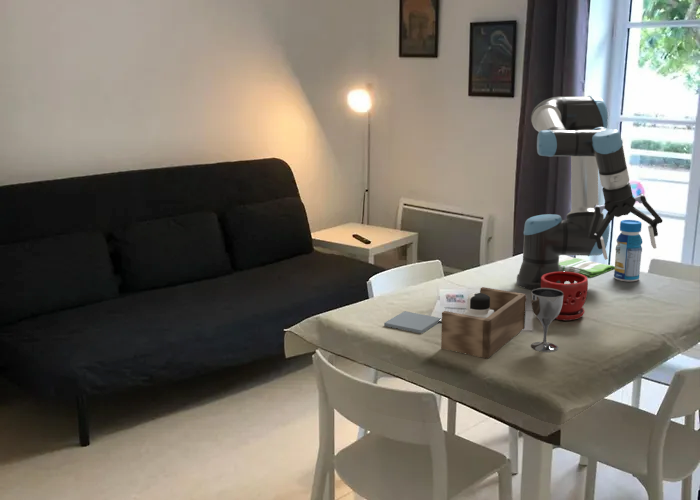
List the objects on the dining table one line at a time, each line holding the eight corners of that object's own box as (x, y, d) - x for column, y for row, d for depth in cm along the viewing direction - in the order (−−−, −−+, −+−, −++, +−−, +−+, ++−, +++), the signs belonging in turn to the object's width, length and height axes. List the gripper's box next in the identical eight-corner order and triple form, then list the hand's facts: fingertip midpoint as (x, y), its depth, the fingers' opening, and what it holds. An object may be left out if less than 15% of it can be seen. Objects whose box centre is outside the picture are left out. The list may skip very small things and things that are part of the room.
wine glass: (524, 342, 198) (527, 288, 194) (553, 340, 198) (557, 287, 195) (534, 353, 190) (537, 297, 186) (564, 351, 191) (568, 296, 187)
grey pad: (384, 326, 211) (384, 322, 211) (404, 314, 221) (404, 311, 221) (421, 333, 205) (421, 330, 204) (441, 321, 214) (441, 318, 214)
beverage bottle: (636, 283, 248) (641, 225, 243) (610, 280, 252) (615, 222, 247) (641, 277, 255) (646, 220, 250) (616, 274, 259) (620, 218, 254)
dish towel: (560, 258, 283) (560, 249, 282) (615, 270, 266) (616, 260, 265) (533, 266, 272) (534, 257, 271) (590, 279, 255) (590, 269, 254)
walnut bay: (441, 348, 194) (441, 312, 191) (481, 320, 215) (482, 287, 212) (487, 358, 187) (488, 321, 185) (524, 328, 208) (526, 294, 206)
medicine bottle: (493, 334, 204) (495, 292, 201) (487, 343, 197) (488, 300, 194) (468, 330, 207) (469, 289, 204) (461, 339, 200) (462, 297, 197)
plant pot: (553, 305, 227) (556, 268, 224) (593, 315, 218) (596, 276, 215) (530, 316, 218) (532, 277, 215) (571, 326, 209) (573, 286, 206)
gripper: (572, 200, 207) (587, 267, 214) (665, 177, 201) (678, 246, 208) (569, 191, 214) (583, 257, 221) (658, 169, 208) (671, 237, 215)
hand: (629, 252), depth 215 cm, fingers open, 13 cm apart
